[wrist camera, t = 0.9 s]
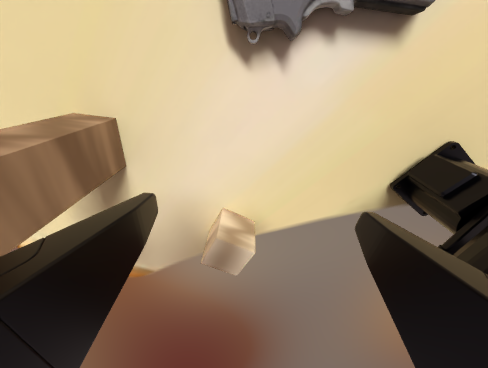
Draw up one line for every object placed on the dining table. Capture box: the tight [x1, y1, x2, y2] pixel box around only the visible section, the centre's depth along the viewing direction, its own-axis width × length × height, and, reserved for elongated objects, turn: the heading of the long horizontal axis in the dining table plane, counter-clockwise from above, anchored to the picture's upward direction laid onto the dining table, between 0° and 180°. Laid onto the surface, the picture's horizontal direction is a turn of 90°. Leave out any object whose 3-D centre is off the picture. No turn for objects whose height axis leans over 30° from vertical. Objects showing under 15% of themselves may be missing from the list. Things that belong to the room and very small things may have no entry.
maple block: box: [201, 208, 255, 276], centre depth 23 cm, size 4×4×5 cm
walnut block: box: [0, 113, 126, 256], centre depth 14 cm, size 4×5×13 cm
